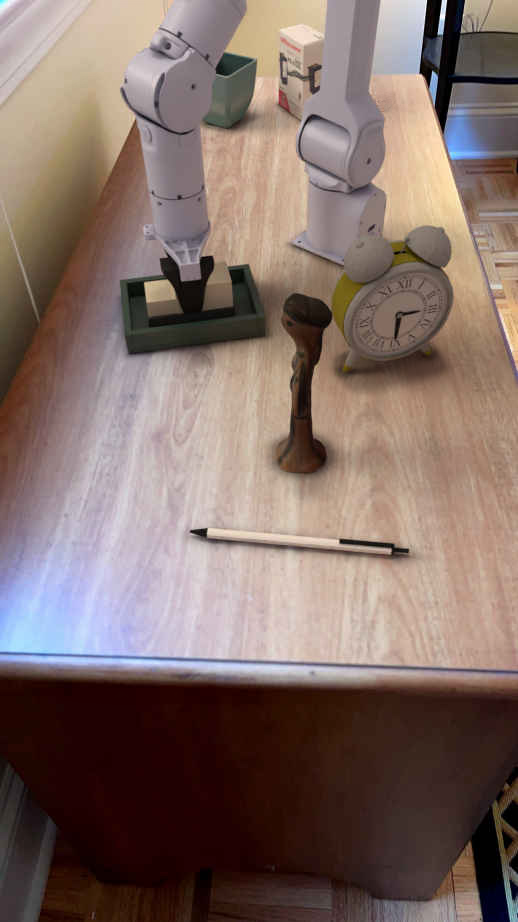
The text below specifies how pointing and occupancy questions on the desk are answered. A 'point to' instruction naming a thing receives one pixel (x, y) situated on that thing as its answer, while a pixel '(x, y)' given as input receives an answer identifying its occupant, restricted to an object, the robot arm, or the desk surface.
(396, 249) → the alarm clock
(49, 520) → the desk surface
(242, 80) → the flower pot
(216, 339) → the dark green tray
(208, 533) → the pen
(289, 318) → the figurine
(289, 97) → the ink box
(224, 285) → the beige wooden block
